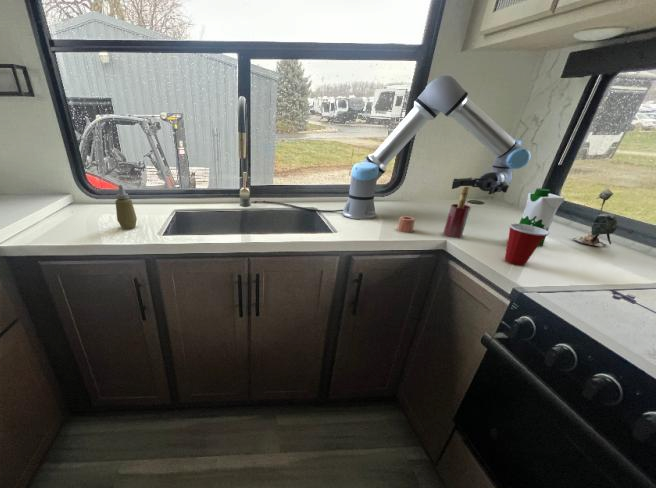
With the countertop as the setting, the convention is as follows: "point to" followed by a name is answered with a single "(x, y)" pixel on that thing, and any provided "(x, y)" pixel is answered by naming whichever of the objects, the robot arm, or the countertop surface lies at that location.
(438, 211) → the countertop surface
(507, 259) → the plastic cup
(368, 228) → the countertop surface
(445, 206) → the countertop surface
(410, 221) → the straw caddy
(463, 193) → the straw
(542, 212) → the milk carton
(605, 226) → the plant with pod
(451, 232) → the can
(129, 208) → the squeeze bottle
